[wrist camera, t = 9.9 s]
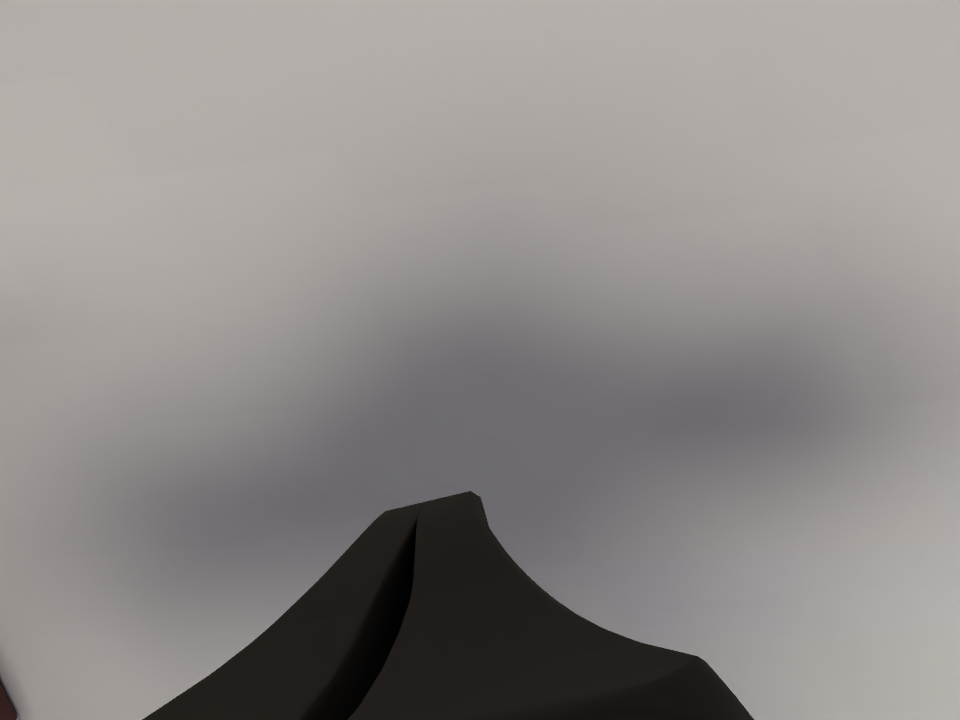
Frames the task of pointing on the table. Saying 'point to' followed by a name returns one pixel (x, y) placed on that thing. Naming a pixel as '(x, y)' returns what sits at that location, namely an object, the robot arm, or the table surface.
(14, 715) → the book
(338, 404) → the table surface
